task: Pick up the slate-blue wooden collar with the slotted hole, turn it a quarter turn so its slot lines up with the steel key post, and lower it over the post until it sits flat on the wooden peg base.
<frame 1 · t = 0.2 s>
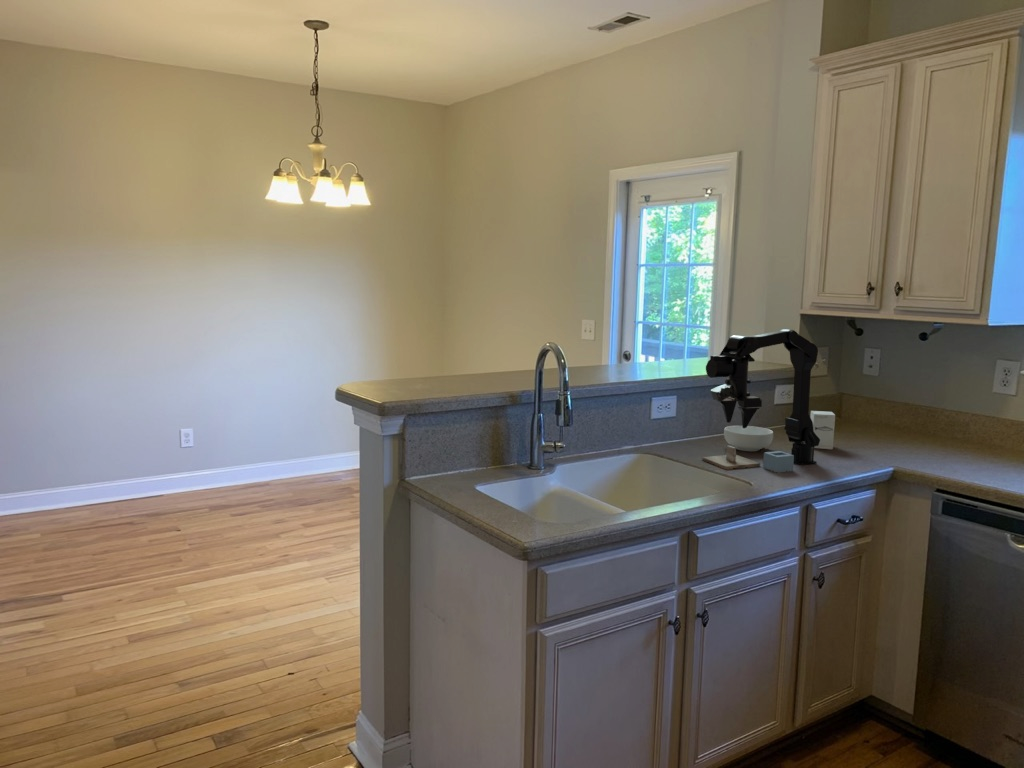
hand: (736, 425, 238), 14 cm above the countertop, tool pointing down, fingers open, 9 cm apart
cereal bowl: (747, 449, 268), on the countertop
supplement box: (820, 447, 272), on the countertop
slotted collar: (777, 469, 240), on the countertop
wooden peg base: (730, 463, 248), on the countertop
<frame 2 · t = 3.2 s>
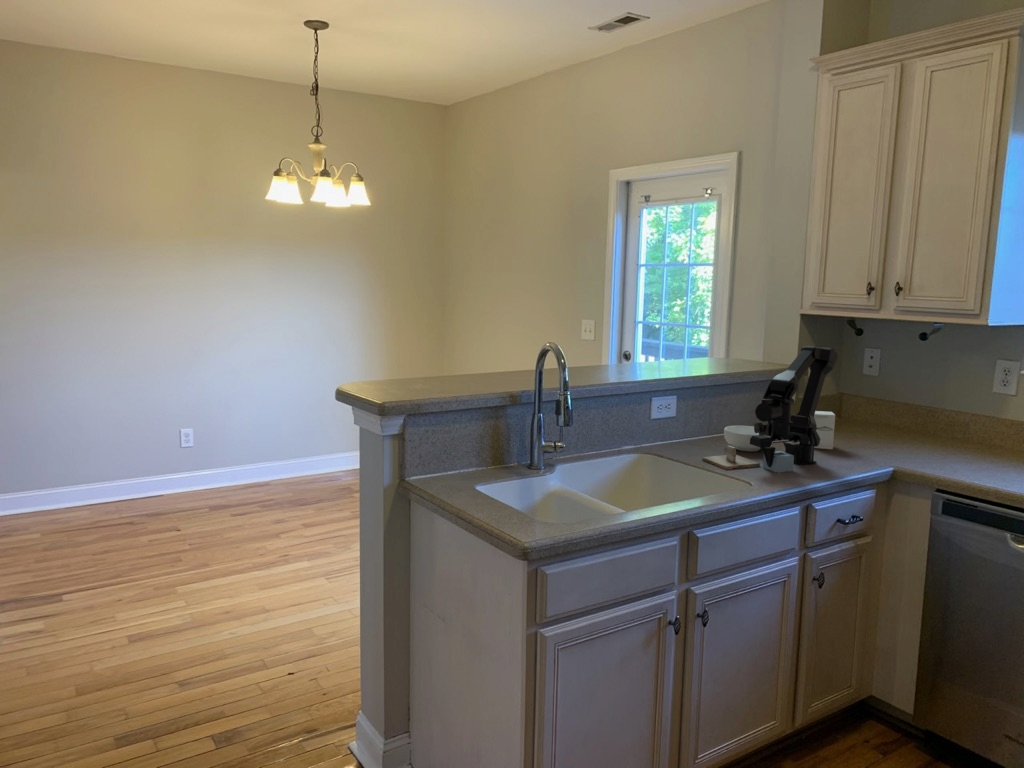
hand: (778, 466, 240), 1 cm above the countertop, tool pointing down, fingers closed on slotted collar, 6 cm apart
slotted collar: (777, 469, 240), on the countertop, touching gripper
everything else where it was.
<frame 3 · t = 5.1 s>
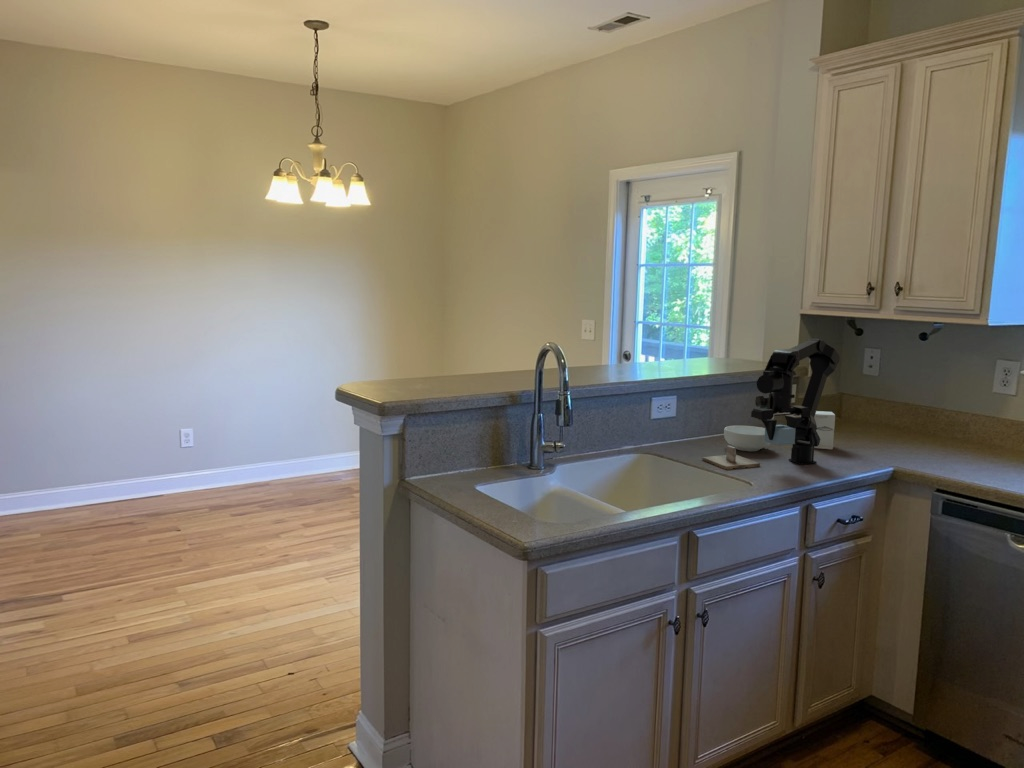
hand: (779, 439, 239), 10 cm above the countertop, tool pointing down, fingers closed on slotted collar, 6 cm apart
slotted collar: (779, 442, 239), point 9 cm above the countertop, touching gripper
everything else where it was.
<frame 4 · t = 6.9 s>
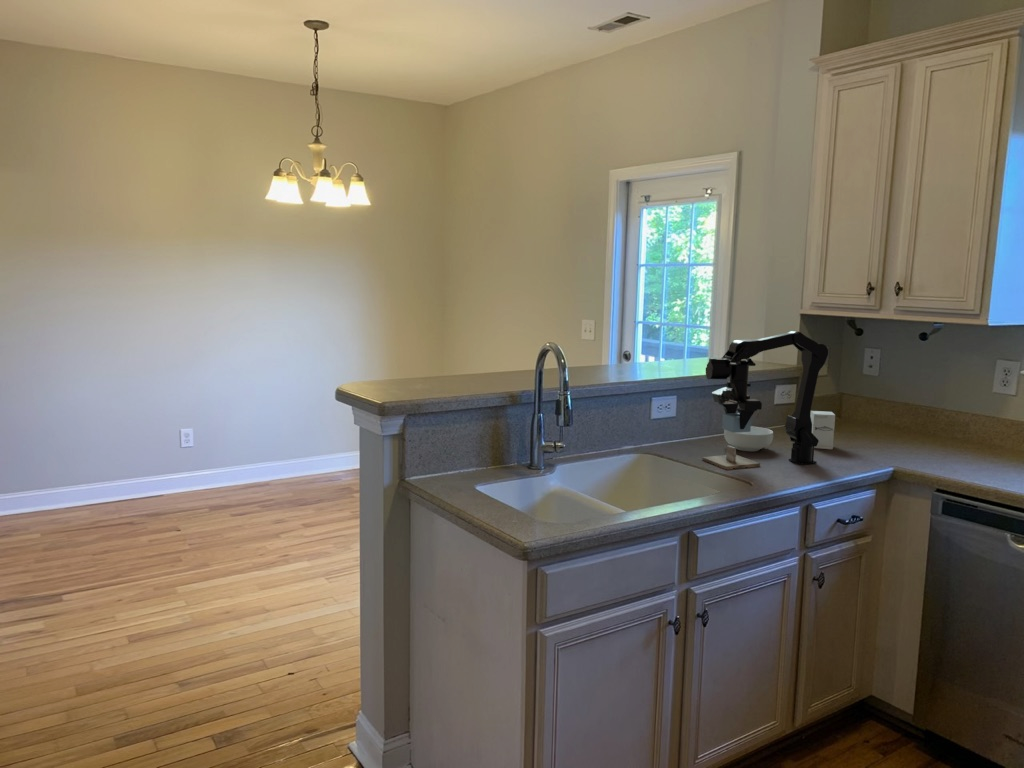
hand: (736, 427, 245), 12 cm above the countertop, tool pointing down, fingers closed on slotted collar, 6 cm apart
slotted collar: (736, 430, 245), point 11 cm above the countertop, touching gripper
everything else where it was.
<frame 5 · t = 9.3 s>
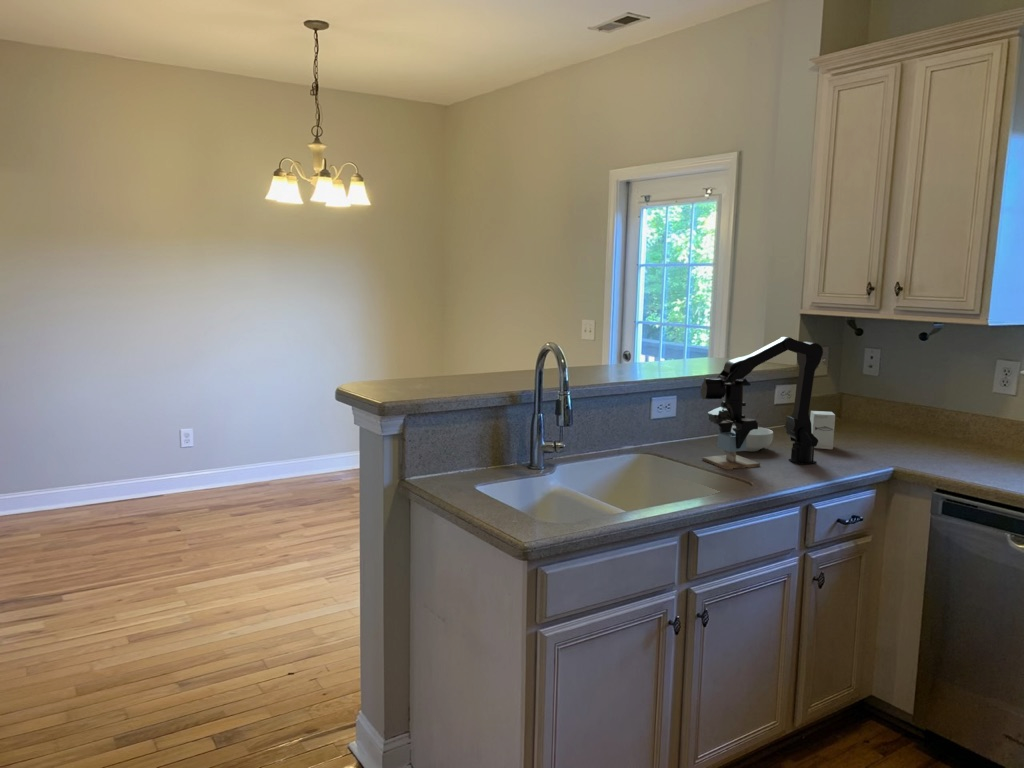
hand: (731, 446, 247), 6 cm above the countertop, tool pointing down, fingers closed on slotted collar, 6 cm apart
slotted collar: (731, 449, 247), point 5 cm above the countertop, touching gripper
everything else where it was.
when the fingers open (3 cm above the countertop, at t = 11.0 s): slotted collar stays where it is, resting on wooden peg base.
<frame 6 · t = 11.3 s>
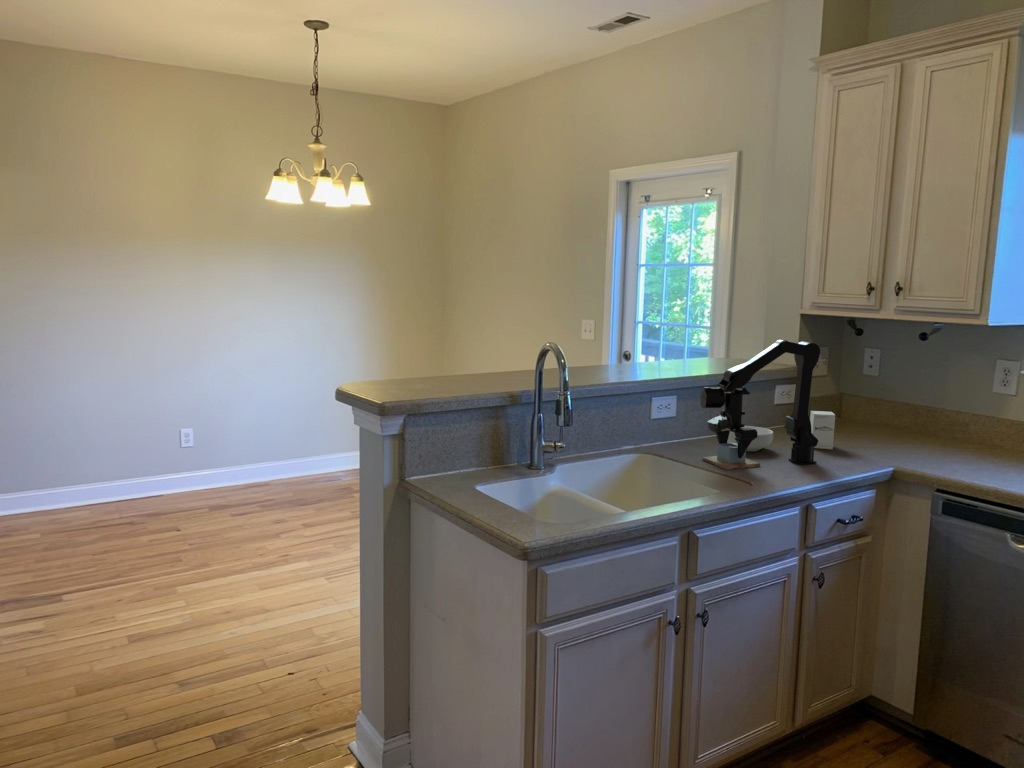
hand: (731, 454, 247), 3 cm above the countertop, tool pointing down, fingers open, 9 cm apart
slotted collar: (731, 460, 247), point 1 cm above the countertop, touching wooden peg base
everything else where it was.
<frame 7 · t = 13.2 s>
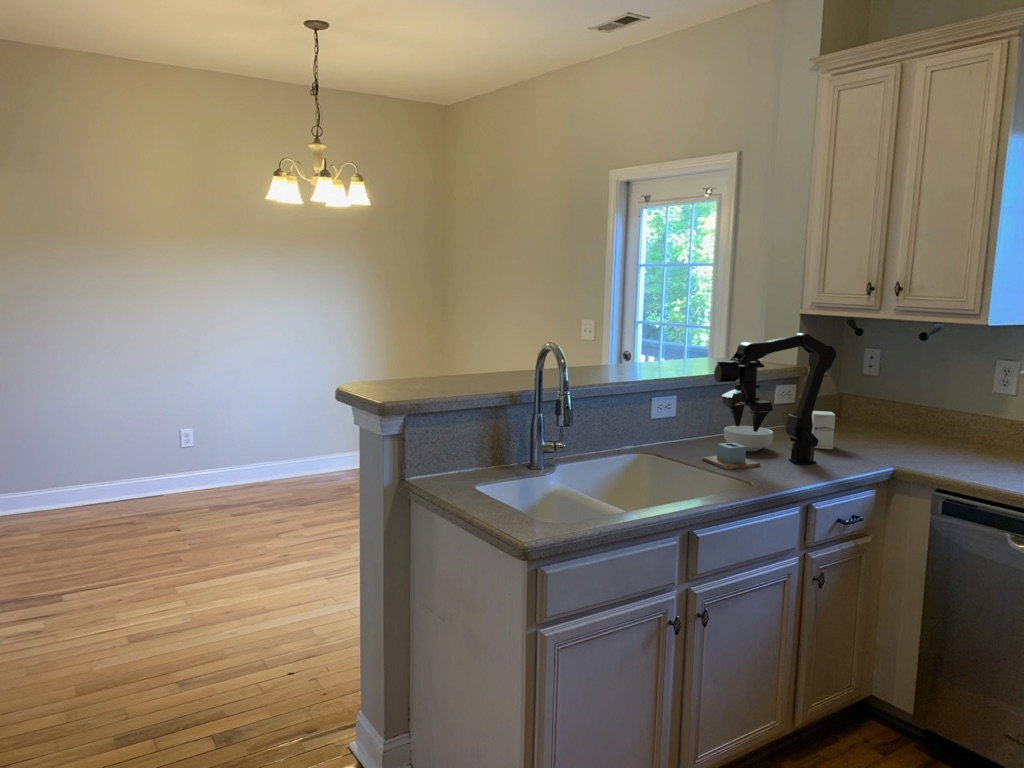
hand: (746, 428, 246), 12 cm above the countertop, tool pointing down, fingers open, 9 cm apart
nothing on the countertop moved.
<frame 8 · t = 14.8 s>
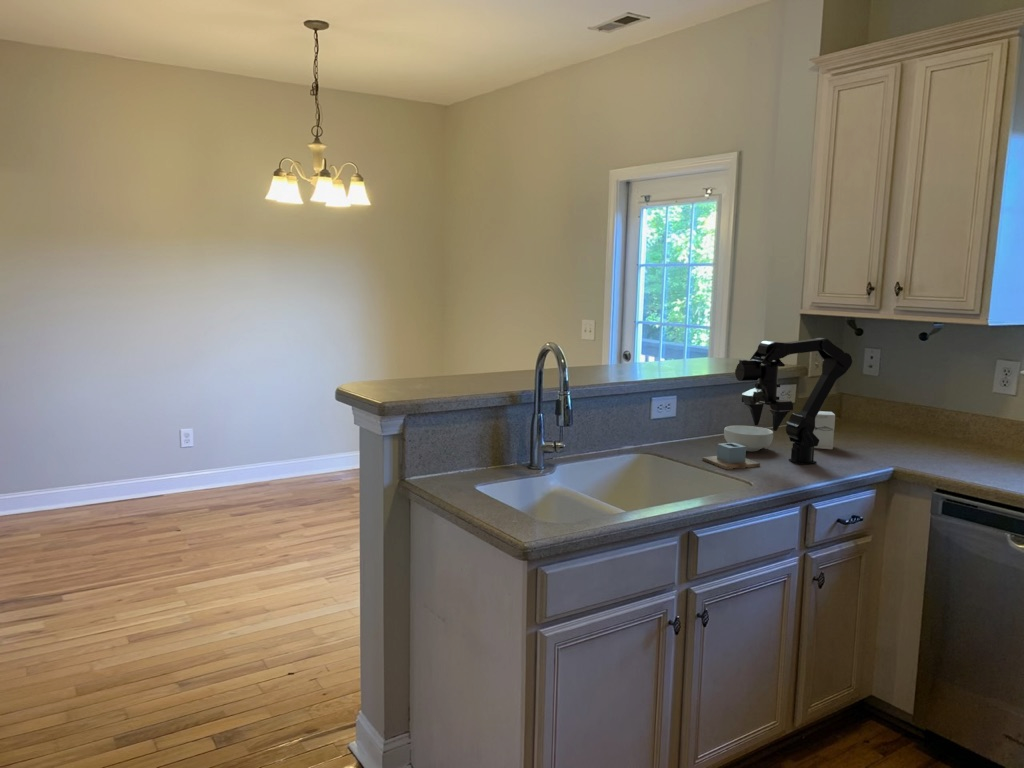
hand: (765, 428, 245), 12 cm above the countertop, tool pointing down, fingers open, 9 cm apart
nothing on the countertop moved.
at the end: slotted collar 0.1 cm off-centre on the wooden peg base, point 1.0 cm above the wooden peg base's base; slotted collar tilted 0°; the gripper is holding nothing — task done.
